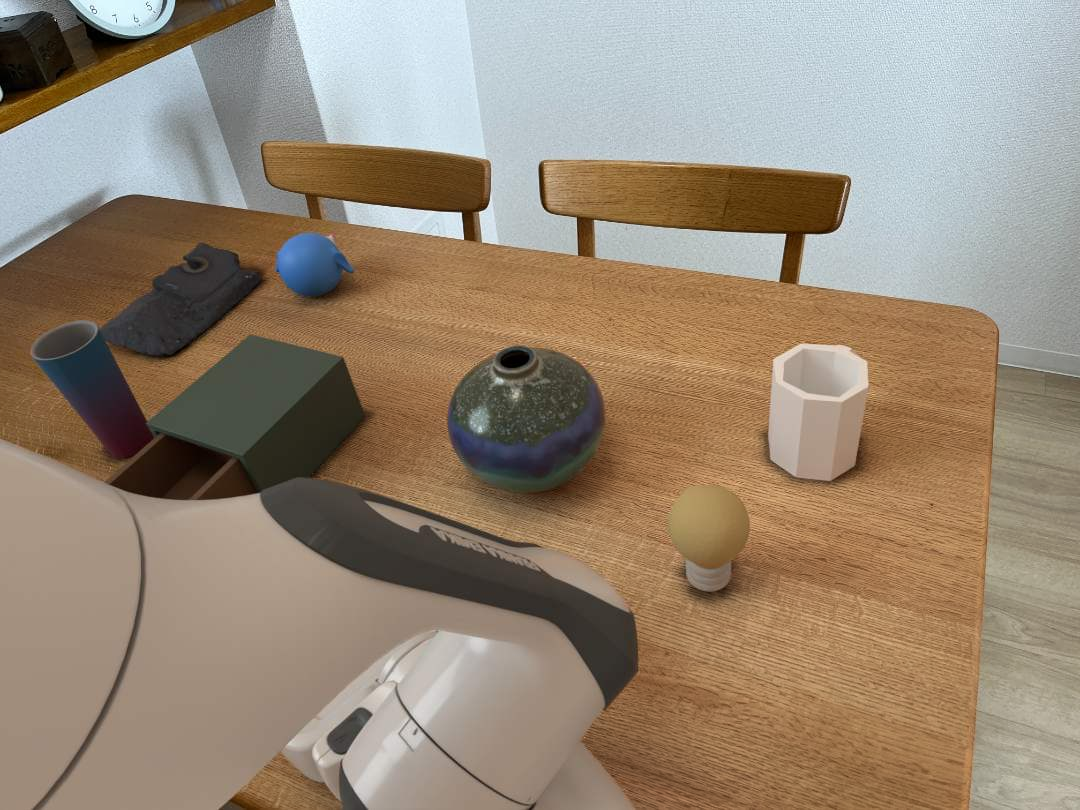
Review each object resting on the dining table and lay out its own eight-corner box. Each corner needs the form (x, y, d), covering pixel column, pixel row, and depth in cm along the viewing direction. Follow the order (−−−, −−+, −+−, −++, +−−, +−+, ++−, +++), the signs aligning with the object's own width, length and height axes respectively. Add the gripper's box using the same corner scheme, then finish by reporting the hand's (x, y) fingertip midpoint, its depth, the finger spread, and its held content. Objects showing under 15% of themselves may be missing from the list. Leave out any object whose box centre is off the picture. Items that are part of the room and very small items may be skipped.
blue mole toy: (379, 261, 117) (363, 208, 112) (347, 308, 109) (328, 254, 103) (306, 260, 120) (286, 209, 115) (269, 307, 112) (246, 254, 106)
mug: (839, 493, 74) (852, 413, 67) (751, 461, 78) (754, 384, 72) (883, 414, 80) (899, 335, 74) (800, 388, 85) (807, 312, 78)
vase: (434, 500, 80) (401, 400, 71) (496, 400, 90) (474, 301, 81) (580, 532, 74) (564, 428, 66) (629, 421, 85) (620, 318, 76)
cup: (111, 428, 96) (43, 326, 86) (167, 418, 96) (106, 315, 86) (93, 468, 91) (19, 365, 81) (153, 458, 91) (86, 353, 81)
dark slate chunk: (86, 348, 110) (68, 320, 107) (194, 262, 125) (180, 235, 122) (169, 364, 104) (152, 335, 101) (272, 272, 119) (260, 244, 116)
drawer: (175, 604, 73) (141, 558, 69) (88, 564, 79) (51, 518, 74) (288, 485, 83) (264, 437, 79) (203, 456, 88) (177, 410, 84)
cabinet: (274, 515, 81) (242, 455, 76) (181, 481, 87) (145, 423, 82) (365, 416, 91) (343, 356, 86) (276, 391, 97) (250, 334, 91)
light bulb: (739, 616, 66) (743, 538, 59) (662, 599, 68) (657, 522, 61) (752, 555, 70) (757, 476, 63) (679, 541, 72) (677, 463, 66)
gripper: (546, 577, 58) (432, 485, 66) (298, 786, 49) (204, 647, 57) (556, 627, 62) (448, 534, 70) (330, 828, 53) (237, 693, 61)
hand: (337, 586), depth 64 cm, fingers closed on candle, 5 cm apart
